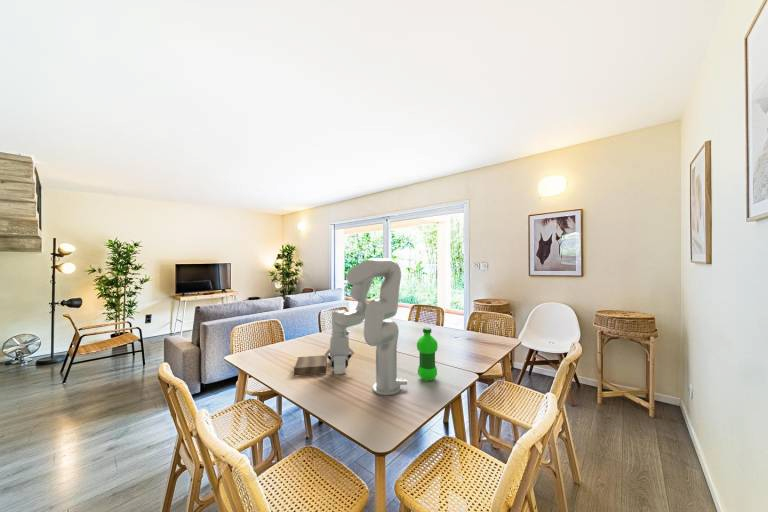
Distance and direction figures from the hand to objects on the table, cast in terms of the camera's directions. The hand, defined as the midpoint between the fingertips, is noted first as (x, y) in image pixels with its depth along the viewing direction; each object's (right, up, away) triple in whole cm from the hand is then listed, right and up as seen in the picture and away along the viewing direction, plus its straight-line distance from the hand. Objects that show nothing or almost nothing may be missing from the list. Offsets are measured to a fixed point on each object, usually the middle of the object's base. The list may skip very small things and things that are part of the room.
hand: (339, 367), depth 149 cm
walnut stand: (-16, -2, +4) cm, 17 cm away
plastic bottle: (+45, -2, -9) cm, 46 cm away
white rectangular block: (0, -2, 0) cm, 2 cm away
